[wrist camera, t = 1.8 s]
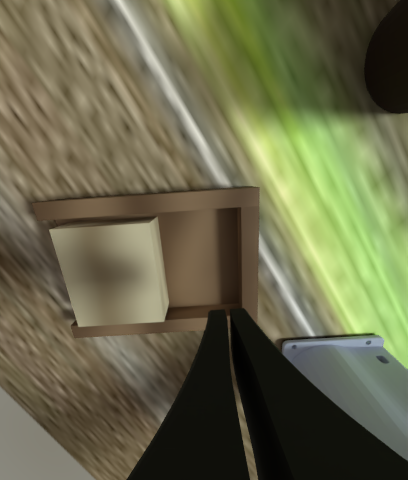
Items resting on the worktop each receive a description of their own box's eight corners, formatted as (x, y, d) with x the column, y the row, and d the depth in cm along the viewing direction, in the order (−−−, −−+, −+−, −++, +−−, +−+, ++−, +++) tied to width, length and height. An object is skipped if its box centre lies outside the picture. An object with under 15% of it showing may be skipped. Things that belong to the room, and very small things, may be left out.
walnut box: (251, 186, 15) (259, 187, 13) (250, 309, 18) (257, 326, 16) (55, 199, 15) (31, 202, 13) (89, 319, 18) (74, 338, 16)
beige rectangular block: (157, 216, 15) (149, 223, 13) (169, 302, 17) (164, 321, 15) (72, 221, 15) (48, 229, 13) (95, 307, 17) (78, 326, 15)
